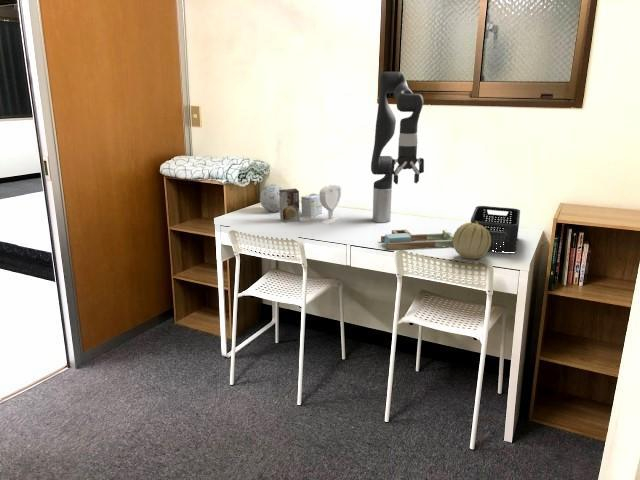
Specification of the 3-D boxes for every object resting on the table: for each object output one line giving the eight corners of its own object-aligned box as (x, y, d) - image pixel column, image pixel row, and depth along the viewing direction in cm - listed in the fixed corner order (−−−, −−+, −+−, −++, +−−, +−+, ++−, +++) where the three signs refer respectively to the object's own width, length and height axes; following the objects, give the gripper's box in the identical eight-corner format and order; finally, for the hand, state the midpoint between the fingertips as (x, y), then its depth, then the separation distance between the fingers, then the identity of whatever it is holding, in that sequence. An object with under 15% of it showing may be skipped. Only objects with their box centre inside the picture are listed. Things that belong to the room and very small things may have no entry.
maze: (376, 236, 235) (376, 227, 234) (438, 233, 239) (439, 224, 238) (388, 249, 216) (388, 240, 214) (456, 246, 220) (456, 237, 219)
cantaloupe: (448, 261, 202) (451, 224, 197) (454, 250, 215) (457, 216, 210) (487, 266, 196) (490, 228, 192) (491, 254, 209) (494, 219, 205)
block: (384, 244, 224) (384, 234, 223) (405, 242, 226) (406, 233, 225) (388, 248, 219) (389, 238, 217) (410, 246, 220) (411, 236, 219)
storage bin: (515, 255, 209) (519, 224, 205) (467, 250, 215) (469, 219, 211) (517, 236, 234) (520, 208, 230) (473, 232, 241) (476, 205, 237)
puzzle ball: (289, 213, 277) (289, 186, 272) (262, 215, 273) (261, 188, 269) (284, 207, 291) (283, 181, 286) (258, 209, 287) (257, 183, 282)
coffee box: (296, 218, 267) (296, 188, 262) (299, 221, 261) (299, 190, 257) (279, 219, 265) (278, 189, 260) (282, 222, 259) (282, 191, 254)
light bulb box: (312, 212, 280) (312, 192, 277) (322, 213, 277) (322, 194, 273) (301, 215, 272) (300, 196, 269) (311, 217, 268) (310, 197, 265)
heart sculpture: (326, 224, 256) (326, 189, 250) (318, 222, 258) (318, 188, 253) (342, 217, 268) (342, 184, 263) (334, 216, 271) (334, 183, 265)
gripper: (421, 142, 212) (419, 181, 216) (388, 143, 209) (387, 182, 214) (427, 145, 204) (425, 184, 209) (393, 145, 202) (392, 185, 207)
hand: (405, 183), depth 212 cm, fingers open, 8 cm apart
